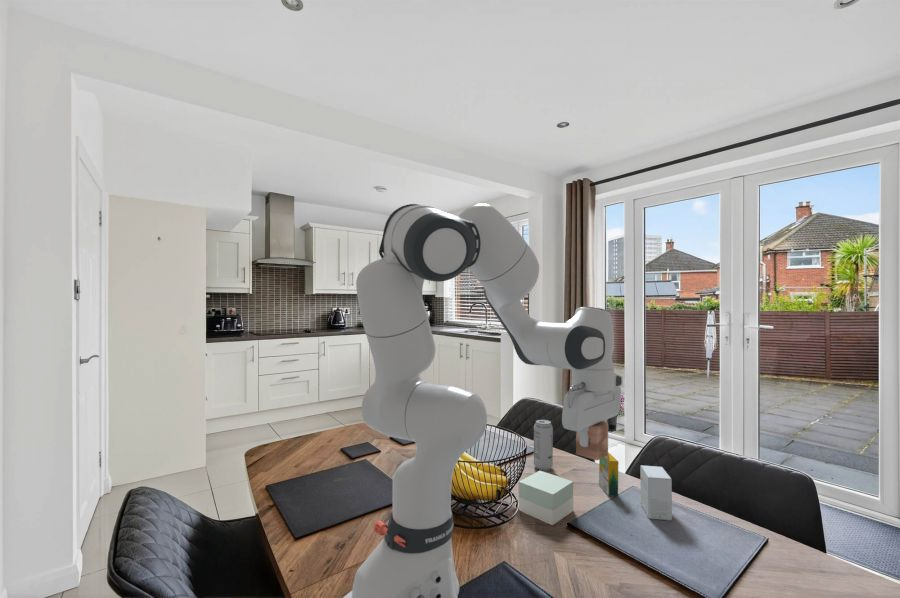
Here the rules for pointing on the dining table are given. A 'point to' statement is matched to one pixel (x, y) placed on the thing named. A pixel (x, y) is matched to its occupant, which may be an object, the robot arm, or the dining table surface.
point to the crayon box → (608, 475)
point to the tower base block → (546, 511)
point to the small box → (656, 492)
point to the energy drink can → (543, 445)
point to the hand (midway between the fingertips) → (592, 442)
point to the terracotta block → (594, 442)
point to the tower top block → (546, 490)
